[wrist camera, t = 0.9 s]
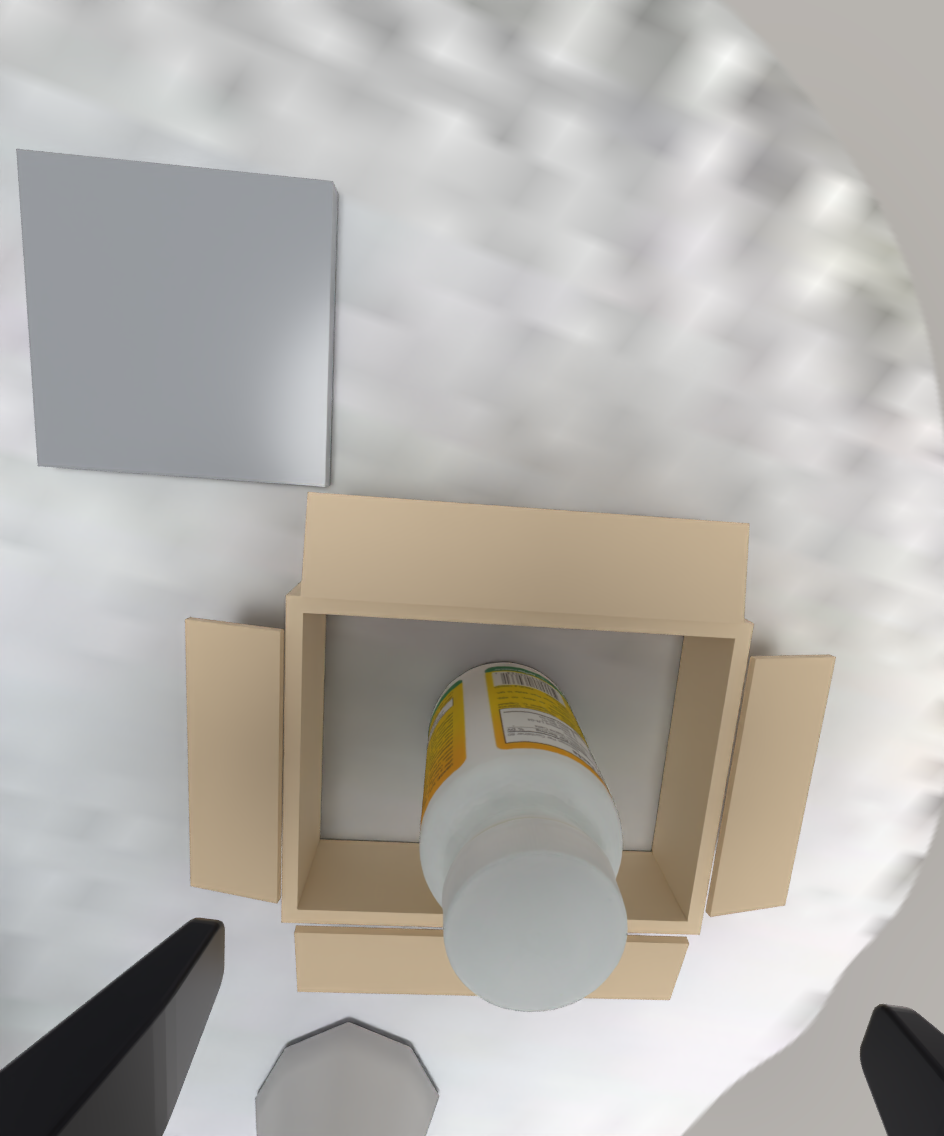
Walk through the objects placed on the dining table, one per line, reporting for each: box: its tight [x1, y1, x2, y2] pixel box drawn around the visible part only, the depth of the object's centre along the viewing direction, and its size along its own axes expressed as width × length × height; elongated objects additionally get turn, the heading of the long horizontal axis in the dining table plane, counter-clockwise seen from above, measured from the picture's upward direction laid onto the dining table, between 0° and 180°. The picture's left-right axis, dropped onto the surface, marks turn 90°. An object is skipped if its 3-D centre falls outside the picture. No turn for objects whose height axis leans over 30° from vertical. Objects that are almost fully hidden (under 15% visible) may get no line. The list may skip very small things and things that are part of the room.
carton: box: [185, 492, 836, 1000], centre depth 20 cm, size 17×20×4 cm
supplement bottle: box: [419, 662, 628, 1012], centre depth 17 cm, size 5×5×10 cm
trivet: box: [16, 149, 338, 487], centre depth 18 cm, size 9×9×1 cm
